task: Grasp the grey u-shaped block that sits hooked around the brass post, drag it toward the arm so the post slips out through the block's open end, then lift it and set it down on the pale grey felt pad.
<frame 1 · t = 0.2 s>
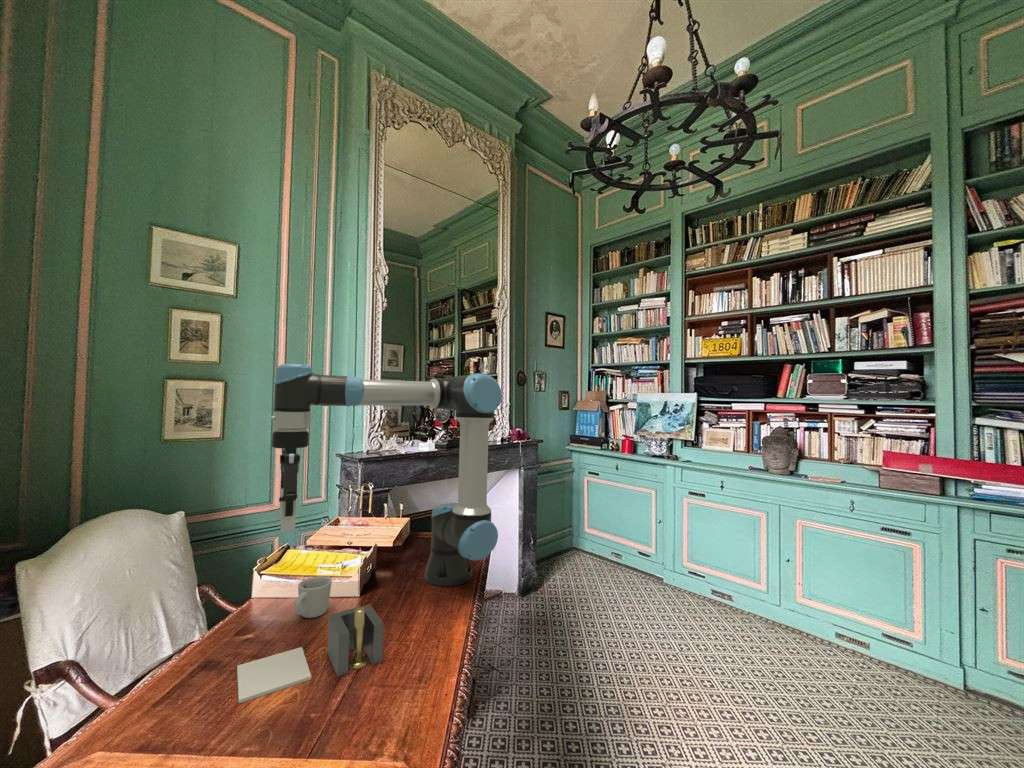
hand: (286, 523, 94), 27 cm above the table, fingers open, 13 cm apart
pad: (273, 673, 83), on the table
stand: (357, 663, 86), on the table
grey u-shaped block: (354, 656, 89), on the table
cup: (310, 617, 106), on the table
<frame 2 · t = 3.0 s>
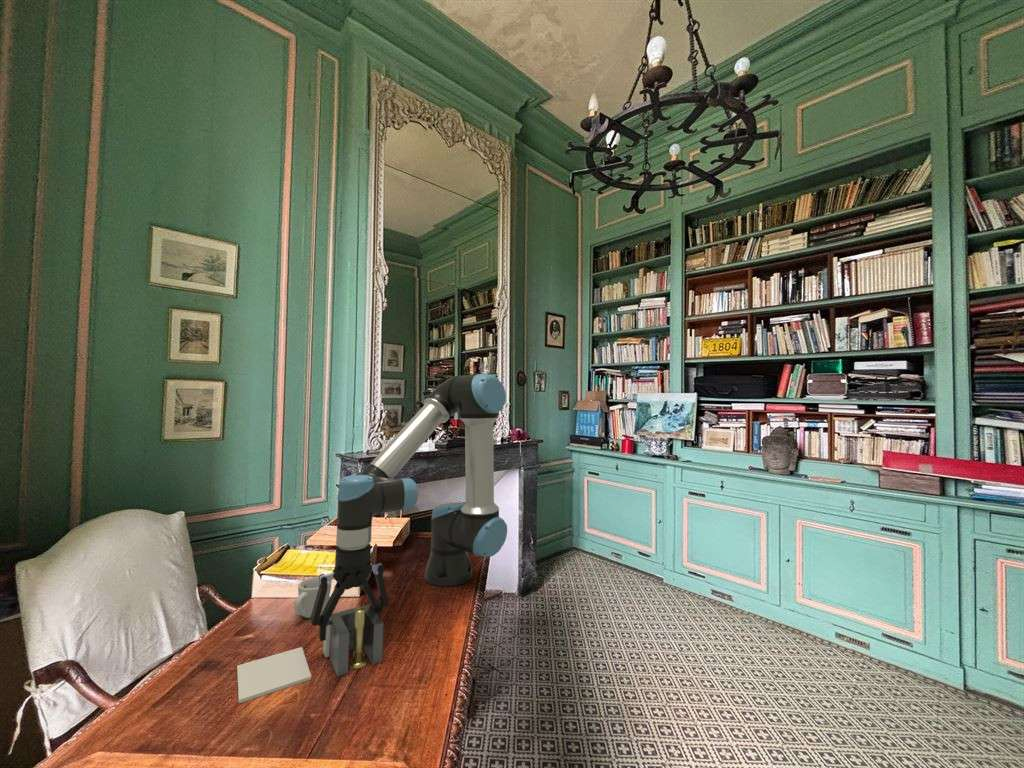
hand: (349, 646, 92), 0 cm above the table, fingers open, 9 cm apart
grey u-shaped block: (354, 656, 89), on the table, touching gripper
everything else where it was.
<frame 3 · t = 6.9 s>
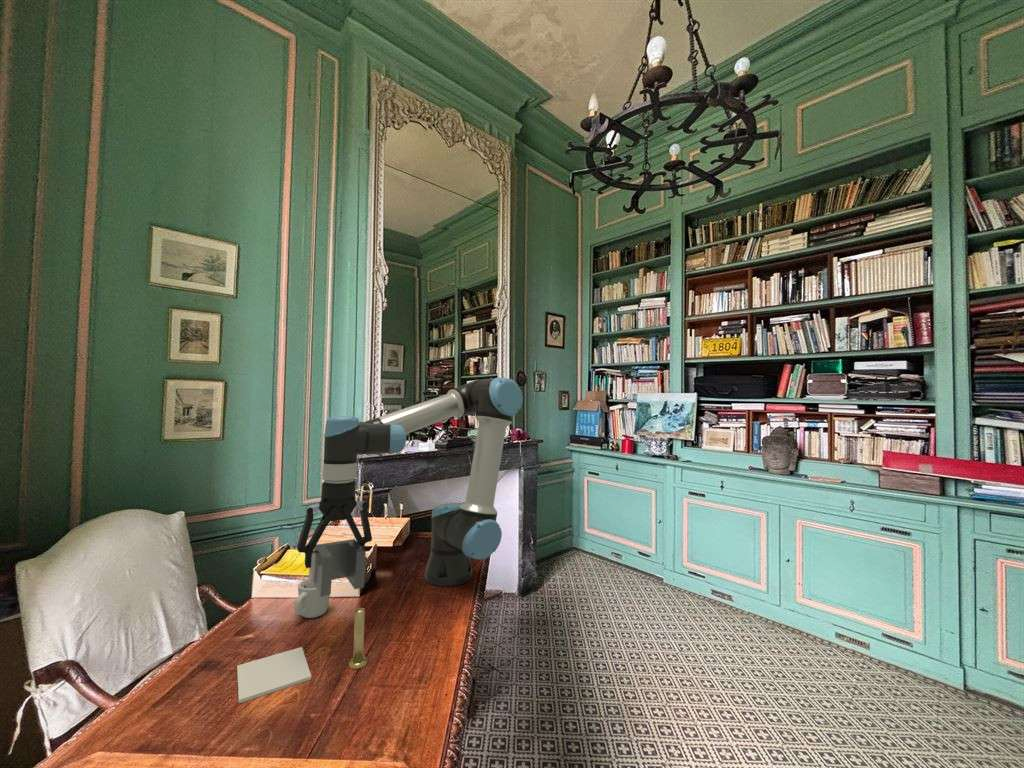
hand: (333, 576, 97), 14 cm above the table, fingers closed on grey u-shaped block, 9 cm apart
grey u-shaped block: (337, 583, 93), point 14 cm above the table, touching gripper
everything else where it was.
when the fingers open (1 cm above the table, at t = 10.3 s): grey u-shaped block stays where it is, resting on pad.
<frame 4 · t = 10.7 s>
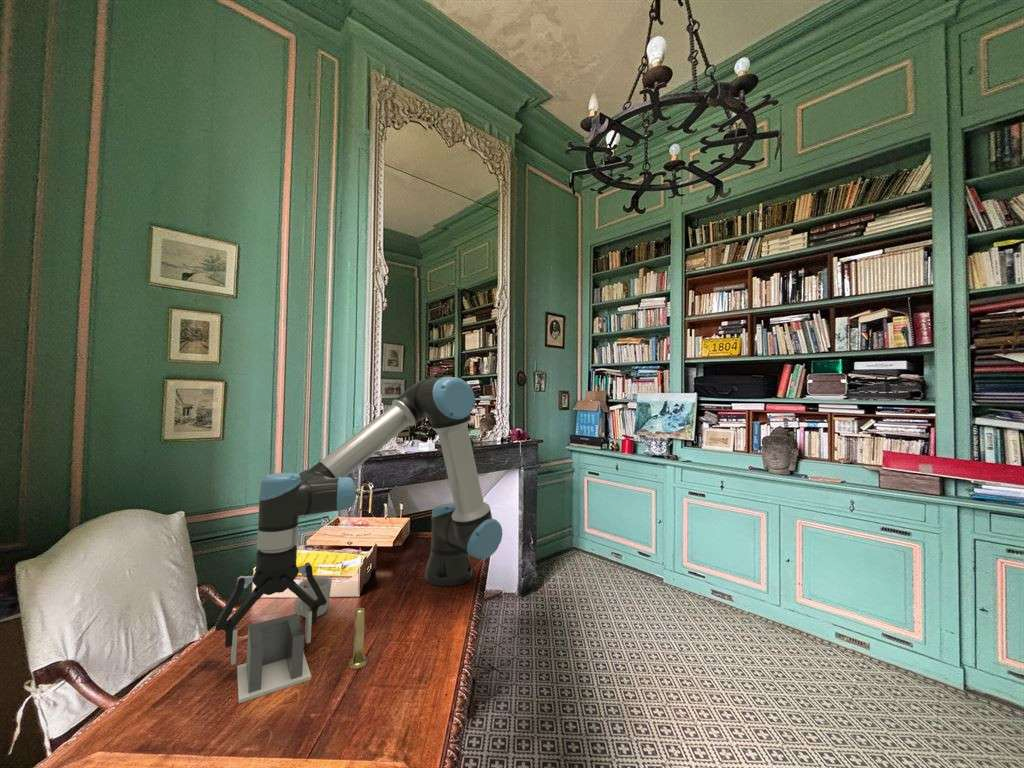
hand: (272, 650, 86), 3 cm above the table, fingers open, 13 cm apart
grey u-shaped block: (273, 670, 83), point 1 cm above the table, touching pad
everything else where it was.
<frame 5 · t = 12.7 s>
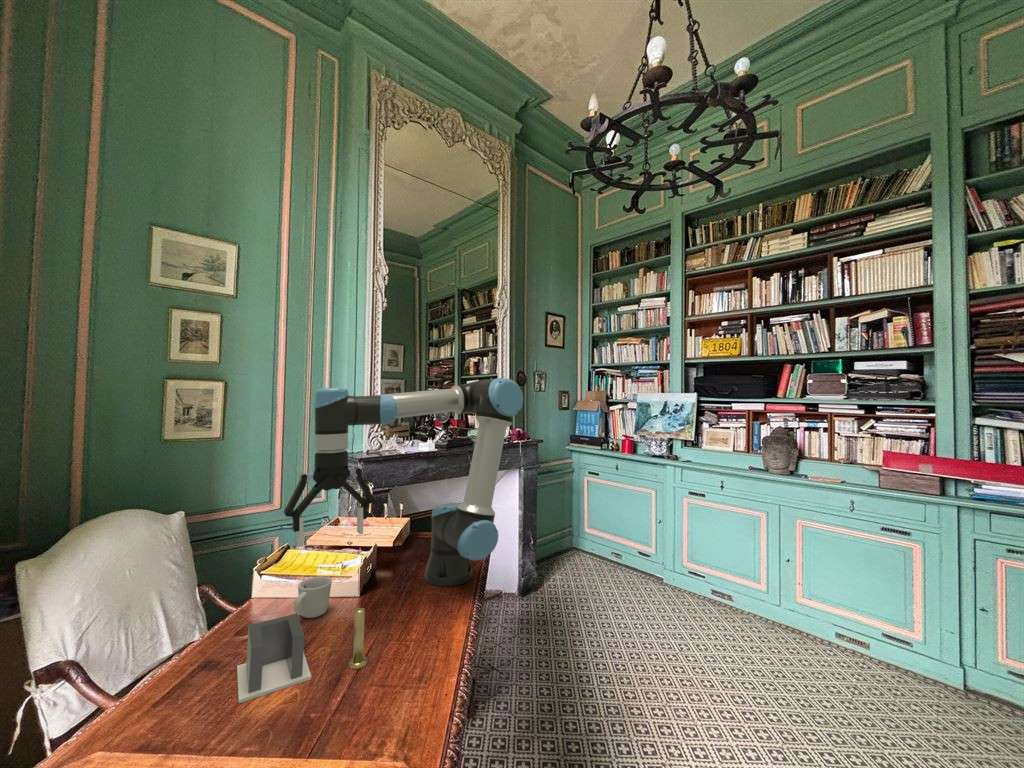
hand: (331, 538, 99), 22 cm above the table, fingers open, 13 cm apart
nothing on the table moved.
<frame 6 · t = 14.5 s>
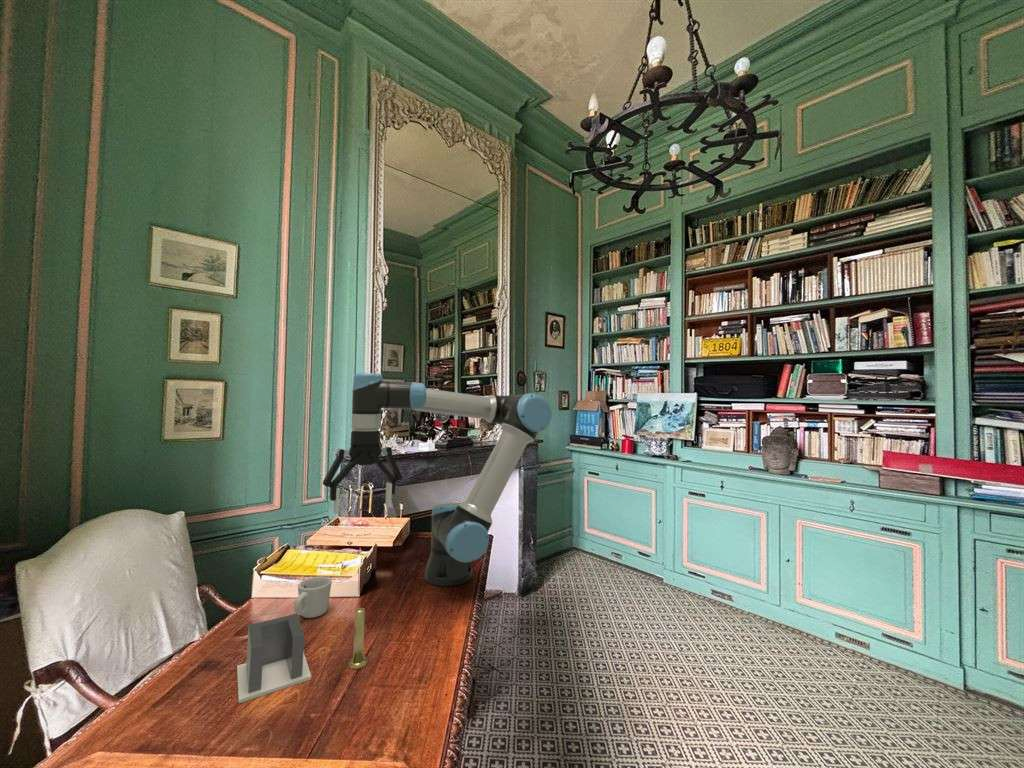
hand: (363, 509, 109), 27 cm above the table, fingers open, 13 cm apart
nothing on the table moved.
at the end: grey u-shaped block inside the target area on the pad (0.1 cm from its centre), point 0.6 cm above the pad's base; grey u-shaped block tilted 0°; the gripper is holding nothing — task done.
